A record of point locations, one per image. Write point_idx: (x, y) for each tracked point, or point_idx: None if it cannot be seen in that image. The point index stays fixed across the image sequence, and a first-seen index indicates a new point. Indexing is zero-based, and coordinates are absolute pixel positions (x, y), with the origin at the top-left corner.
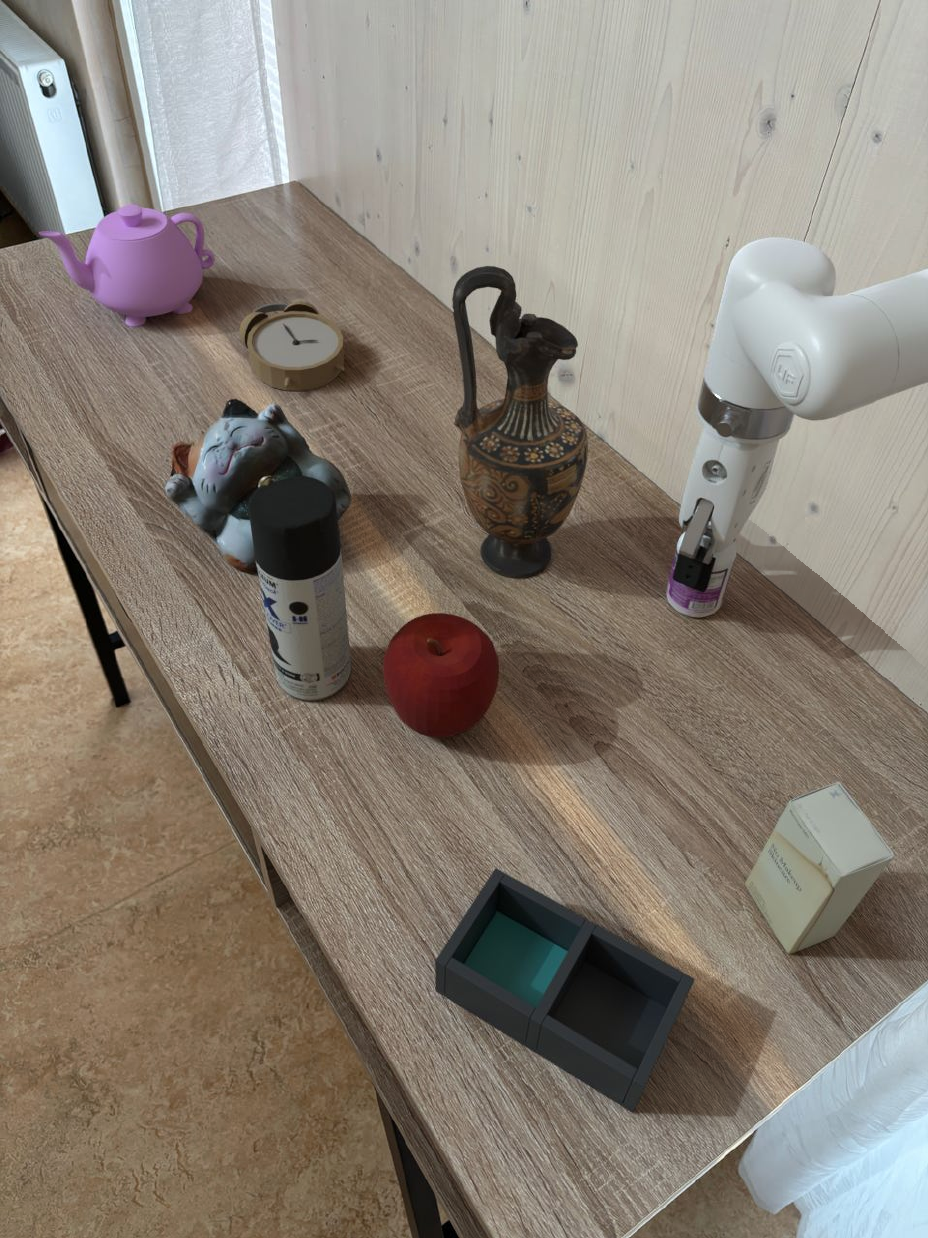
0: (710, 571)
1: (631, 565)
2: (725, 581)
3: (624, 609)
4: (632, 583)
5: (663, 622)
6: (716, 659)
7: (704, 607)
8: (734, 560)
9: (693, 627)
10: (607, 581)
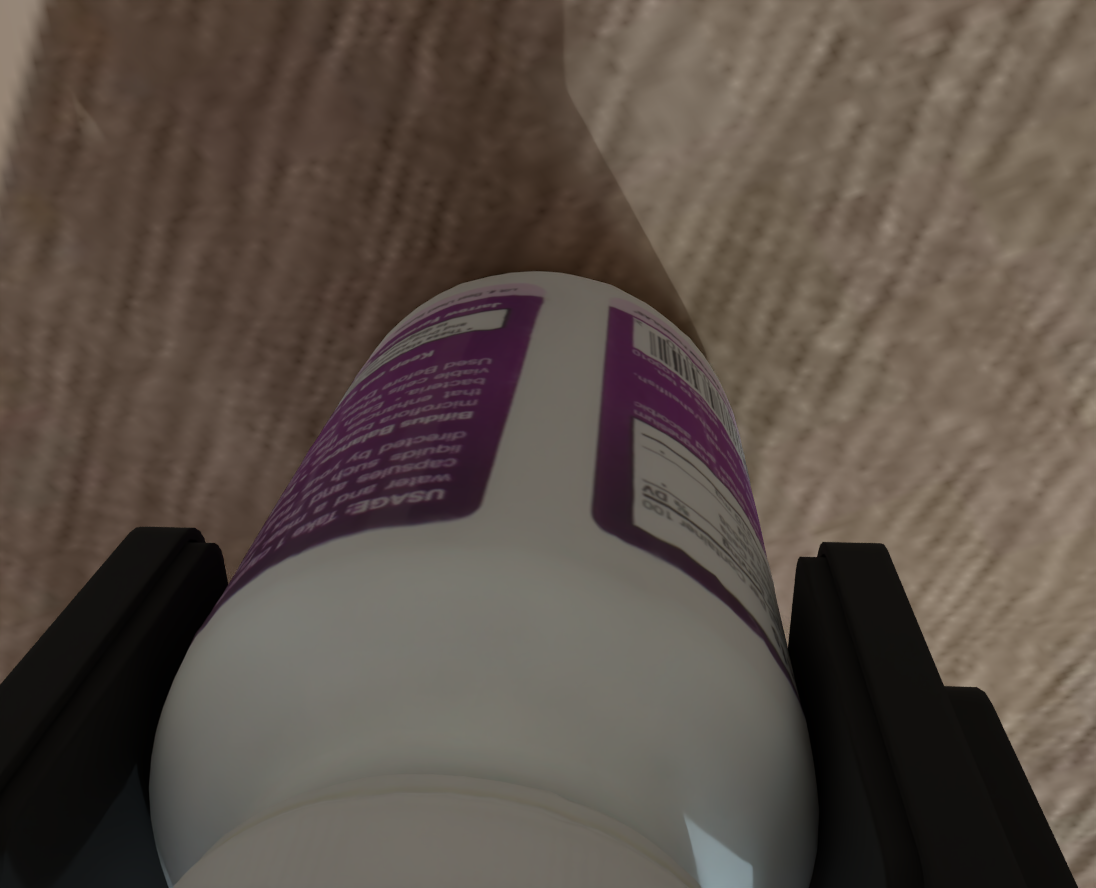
0: (958, 745)
1: None
2: (576, 411)
3: None
4: None
5: (845, 528)
6: (1041, 86)
7: (710, 387)
8: (451, 517)
9: (794, 352)
10: None
